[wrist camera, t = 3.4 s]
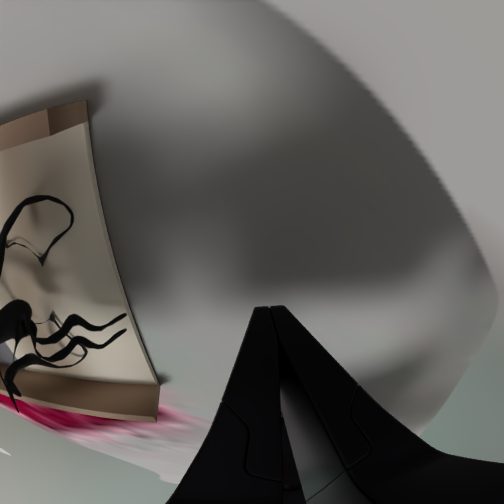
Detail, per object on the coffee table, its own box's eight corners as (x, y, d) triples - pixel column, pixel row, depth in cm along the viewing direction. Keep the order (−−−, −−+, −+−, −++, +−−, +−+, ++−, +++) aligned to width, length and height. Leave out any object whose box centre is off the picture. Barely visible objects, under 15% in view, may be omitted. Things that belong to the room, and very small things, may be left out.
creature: (135, 186, 8) (-62, 178, 5) (127, 322, 4) (-148, 274, 1) (127, 350, 12) (-19, 335, 9) (139, 461, 8) (-40, 432, 5)
